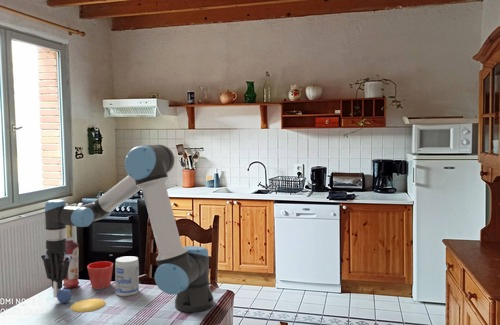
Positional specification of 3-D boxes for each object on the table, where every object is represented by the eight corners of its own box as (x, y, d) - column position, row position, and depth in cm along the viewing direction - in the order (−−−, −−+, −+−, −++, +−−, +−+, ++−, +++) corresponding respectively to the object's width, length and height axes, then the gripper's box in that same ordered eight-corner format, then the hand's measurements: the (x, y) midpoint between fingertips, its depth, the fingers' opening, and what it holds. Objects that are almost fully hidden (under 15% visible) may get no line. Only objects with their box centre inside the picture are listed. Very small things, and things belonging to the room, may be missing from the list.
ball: (66, 308, 176) (74, 299, 174) (53, 303, 173) (61, 294, 172) (67, 297, 180) (75, 289, 179) (55, 292, 177) (63, 284, 176)
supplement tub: (114, 297, 181) (113, 262, 180) (117, 289, 191) (116, 256, 190) (138, 295, 183) (137, 261, 182) (140, 288, 192) (139, 255, 191)
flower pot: (106, 291, 189) (105, 268, 188) (83, 289, 191) (82, 267, 191) (118, 282, 199) (117, 261, 199) (96, 281, 202) (95, 260, 201)
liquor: (72, 290, 190) (70, 226, 188) (58, 288, 192) (56, 225, 190) (83, 284, 197) (81, 223, 195) (70, 283, 199) (67, 222, 197)
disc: (107, 308, 170) (107, 307, 170) (71, 314, 165) (71, 314, 164) (103, 297, 182) (103, 296, 182) (69, 302, 176) (69, 302, 176)
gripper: (76, 237, 177) (77, 294, 179) (49, 235, 180) (50, 291, 182) (63, 242, 170) (64, 301, 172) (35, 239, 173) (37, 297, 175)
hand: (57, 296), depth 177 cm, fingers closed
